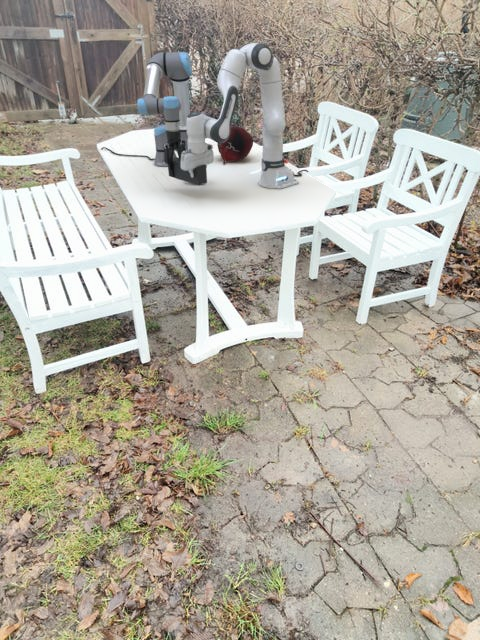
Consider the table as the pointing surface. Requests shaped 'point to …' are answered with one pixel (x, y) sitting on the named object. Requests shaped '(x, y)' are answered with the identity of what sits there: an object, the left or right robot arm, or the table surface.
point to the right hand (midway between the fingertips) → (198, 175)
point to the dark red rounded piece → (236, 145)
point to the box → (186, 176)
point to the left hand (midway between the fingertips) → (177, 175)
